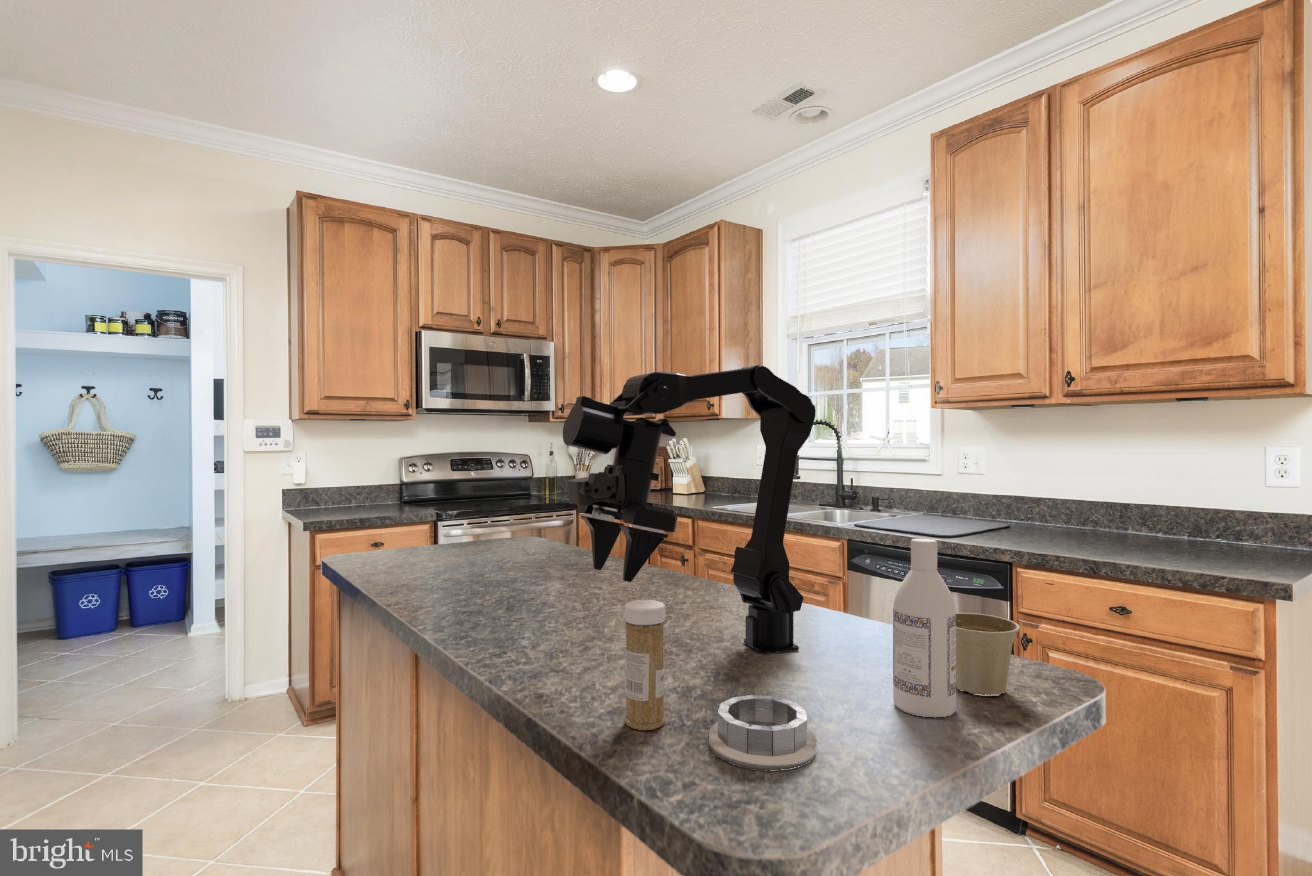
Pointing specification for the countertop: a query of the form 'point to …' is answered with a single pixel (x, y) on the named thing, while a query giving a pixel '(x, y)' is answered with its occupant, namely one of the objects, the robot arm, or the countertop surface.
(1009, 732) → the countertop surface
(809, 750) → the socket
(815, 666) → the countertop surface
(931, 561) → the bath foam
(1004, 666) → the flower pot
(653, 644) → the sprinkles bottle
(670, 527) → the robot arm
